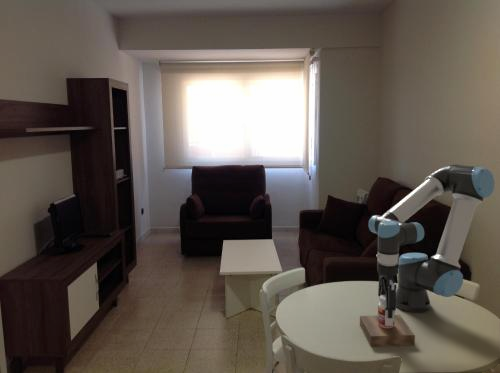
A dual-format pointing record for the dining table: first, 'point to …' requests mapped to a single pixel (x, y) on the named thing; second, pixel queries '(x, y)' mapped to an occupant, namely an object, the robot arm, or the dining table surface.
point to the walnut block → (387, 332)
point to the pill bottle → (383, 312)
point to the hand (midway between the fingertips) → (386, 320)
